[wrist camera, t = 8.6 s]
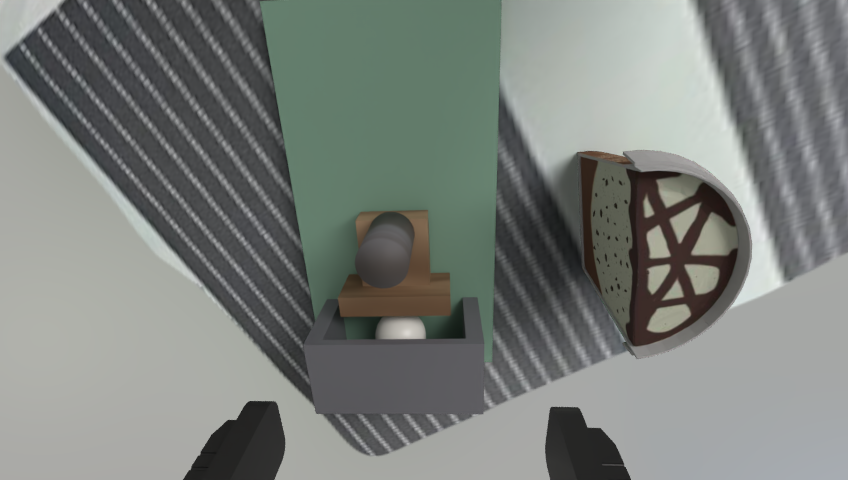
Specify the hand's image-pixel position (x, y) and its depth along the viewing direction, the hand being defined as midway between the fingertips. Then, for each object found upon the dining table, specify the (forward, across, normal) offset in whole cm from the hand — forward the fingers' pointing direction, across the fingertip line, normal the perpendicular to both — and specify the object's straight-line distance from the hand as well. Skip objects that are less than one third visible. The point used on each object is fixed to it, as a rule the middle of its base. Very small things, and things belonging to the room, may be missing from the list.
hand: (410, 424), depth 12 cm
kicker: (+19, +3, +3) cm, 20 cm away
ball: (+18, +3, +10) cm, 20 cm away
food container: (+21, -14, 0) cm, 25 cm away
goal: (+20, +3, +11) cm, 23 cm away
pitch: (+21, +3, 0) cm, 21 cm away
